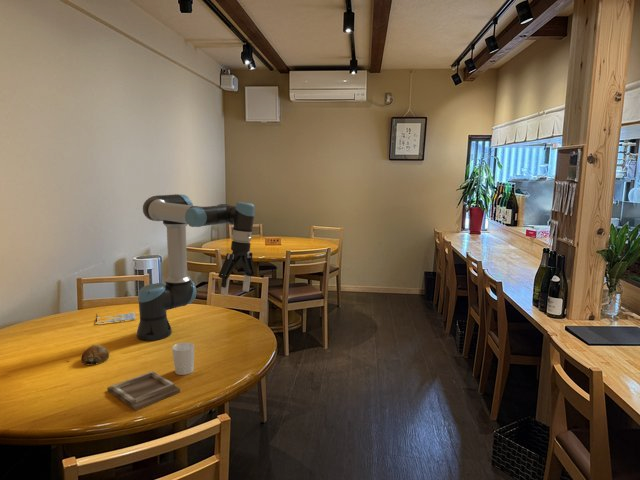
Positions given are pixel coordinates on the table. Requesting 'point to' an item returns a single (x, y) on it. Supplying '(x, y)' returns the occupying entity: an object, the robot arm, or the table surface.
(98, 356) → the bread roll
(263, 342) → the table surface
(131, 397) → the keeper board
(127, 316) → the snack bag
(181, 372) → the white cup
